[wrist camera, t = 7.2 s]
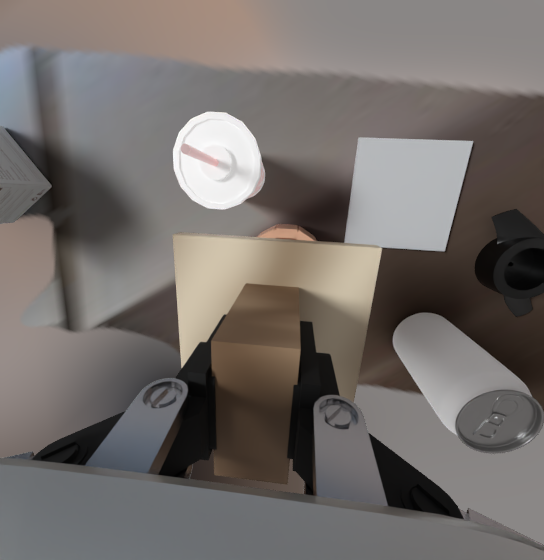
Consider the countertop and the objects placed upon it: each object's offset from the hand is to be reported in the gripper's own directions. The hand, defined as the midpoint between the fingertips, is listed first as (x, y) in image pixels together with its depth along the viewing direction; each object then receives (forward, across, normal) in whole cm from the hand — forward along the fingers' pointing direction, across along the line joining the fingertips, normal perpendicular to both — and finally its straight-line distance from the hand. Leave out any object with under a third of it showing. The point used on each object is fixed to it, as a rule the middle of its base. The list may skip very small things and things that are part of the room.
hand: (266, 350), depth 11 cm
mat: (+18, -11, -7) cm, 22 cm away
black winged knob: (+18, -23, -1) cm, 29 cm away
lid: (+2, 0, 0) cm, 2 cm away
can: (+18, -16, +8) cm, 26 cm away
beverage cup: (+18, +5, -8) cm, 21 cm away
